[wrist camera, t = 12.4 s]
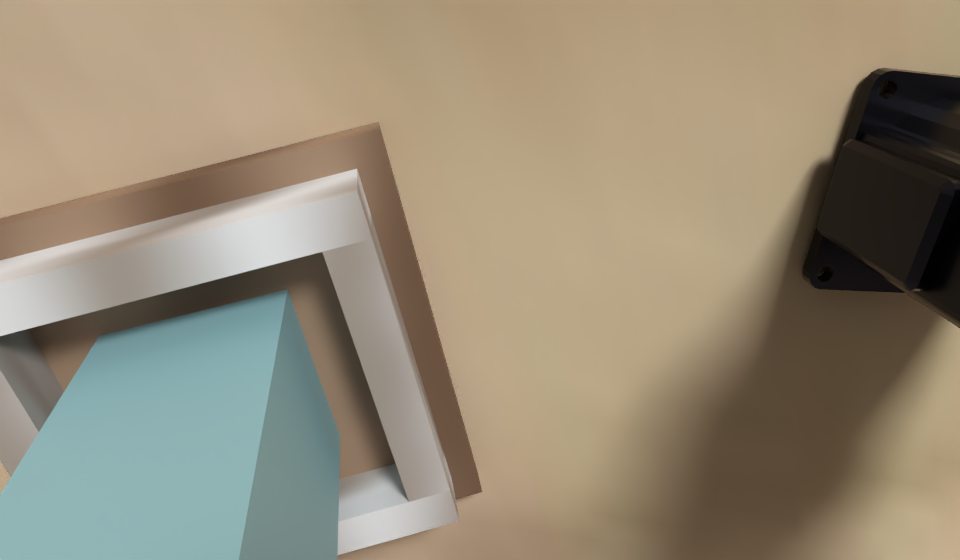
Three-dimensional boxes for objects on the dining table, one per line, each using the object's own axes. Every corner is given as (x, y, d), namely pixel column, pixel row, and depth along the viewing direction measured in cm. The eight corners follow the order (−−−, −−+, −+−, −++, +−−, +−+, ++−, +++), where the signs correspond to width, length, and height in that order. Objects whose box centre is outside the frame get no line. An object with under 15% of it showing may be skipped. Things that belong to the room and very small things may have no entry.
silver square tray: (378, 122, 19) (382, 149, 16) (478, 475, 24) (491, 533, 22) (-93, 242, 18) (-158, 288, 16) (116, 575, 24) (91, 646, 21)
